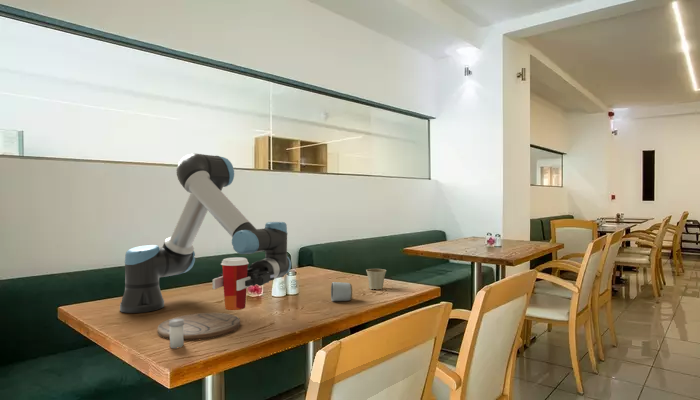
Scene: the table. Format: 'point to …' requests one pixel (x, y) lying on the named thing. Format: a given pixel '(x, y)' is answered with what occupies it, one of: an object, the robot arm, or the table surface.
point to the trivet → (203, 325)
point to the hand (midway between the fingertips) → (225, 284)
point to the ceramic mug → (341, 291)
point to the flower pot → (376, 278)
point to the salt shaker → (176, 333)
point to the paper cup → (234, 282)
